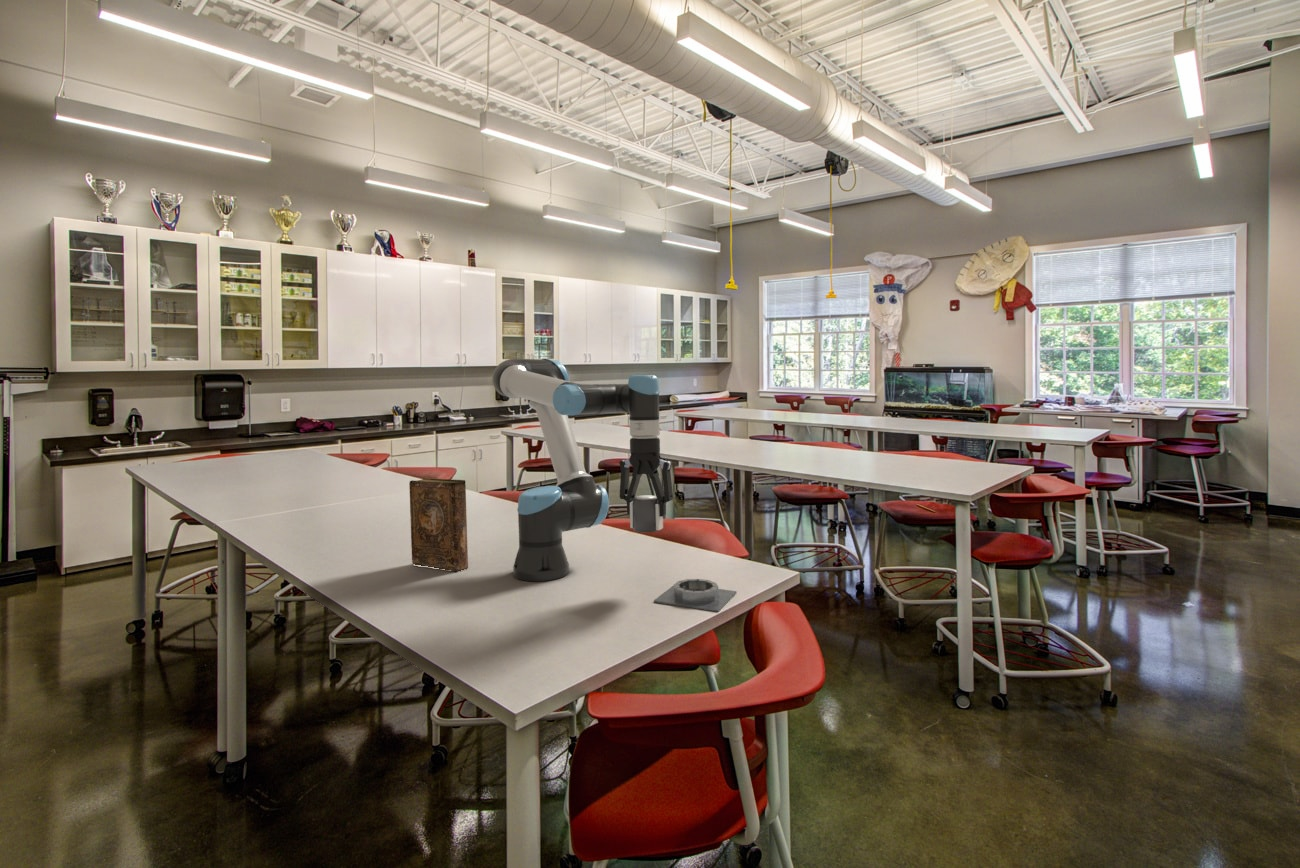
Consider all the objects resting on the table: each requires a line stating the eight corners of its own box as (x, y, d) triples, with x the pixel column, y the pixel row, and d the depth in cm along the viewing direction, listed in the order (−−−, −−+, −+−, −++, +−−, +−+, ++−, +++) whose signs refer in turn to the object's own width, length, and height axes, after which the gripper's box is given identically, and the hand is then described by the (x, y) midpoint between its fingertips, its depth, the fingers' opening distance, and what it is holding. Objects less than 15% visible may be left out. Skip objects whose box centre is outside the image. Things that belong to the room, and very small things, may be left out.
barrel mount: (653, 602, 149) (653, 589, 148) (676, 585, 161) (676, 573, 161) (718, 611, 142) (718, 599, 142) (736, 593, 155) (736, 581, 154)
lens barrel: (629, 531, 157) (628, 498, 157) (640, 526, 163) (640, 494, 162) (652, 533, 154) (652, 499, 154) (663, 527, 160) (662, 495, 160)
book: (471, 567, 179) (468, 480, 177) (458, 572, 174) (455, 483, 172) (425, 561, 185) (422, 477, 183) (412, 566, 180) (408, 480, 178)
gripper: (603, 437, 158) (605, 528, 159) (674, 438, 150) (676, 534, 151) (617, 435, 165) (619, 522, 166) (686, 436, 156) (687, 527, 158)
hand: (646, 527), depth 159 cm, fingers closed on lens barrel, 6 cm apart
